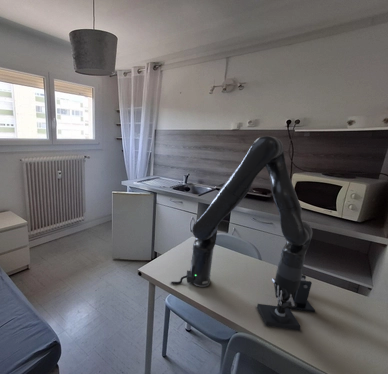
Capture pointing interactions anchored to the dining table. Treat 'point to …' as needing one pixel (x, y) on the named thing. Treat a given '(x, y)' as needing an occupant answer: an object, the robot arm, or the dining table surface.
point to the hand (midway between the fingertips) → (280, 312)
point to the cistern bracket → (303, 297)
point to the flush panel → (277, 317)
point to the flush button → (279, 313)
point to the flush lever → (275, 281)
